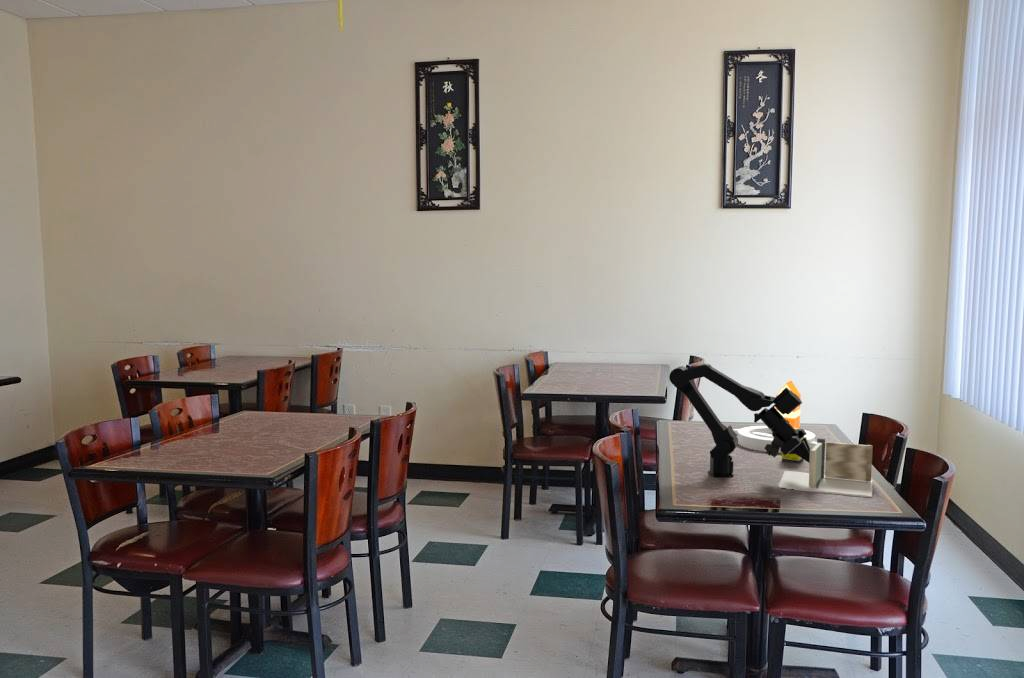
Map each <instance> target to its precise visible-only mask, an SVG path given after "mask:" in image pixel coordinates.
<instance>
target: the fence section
mask: <svg viewBox="0 0 1024 678" xmlns="http://www.w3.org/2000/svg"><path fill="white" fill-rule="evenodd" d="M816 442H817V443H818V442H819V443H822V464H821V479H822V478H824V475H825V477H828V478H838V479H849V480H859V481H867V482H871V479H872V470H873V469H872V466H873V465H872V464H873V447H874V445H872V444H857V443H845V442H835V441H834V442H833V441H832V442H831V441H826V439H825V438H823V437H822V438H821V437H817V438H816Z"/></svg>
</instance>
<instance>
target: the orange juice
mask: <svg viewBox="0 0 1024 678" xmlns="http://www.w3.org/2000/svg"><path fill="white" fill-rule="evenodd" d="M786 387H787V388H788V389H789V390H791V391H792V392H793V393H794V394H796V395H797V396H798V397H799V398H800V400H801V392H800V391H799V390H798V388H797V387H796V385H795V384H794V382H793V380H790V381H787V382H786V383H785V384H784V385H783V386H782V387H781V389H780V390H779V391H778V393H777V394H776V395H775V397H776V396H778V395H779V394H780V393H781V392H782V391H783V390H784V389H785V388H786ZM775 409H776V410H777V411H778V409H777V408H776V407H775ZM778 412H779V411H778ZM779 413H780V412H779ZM780 414H781V415H782V416H783V417H784V418H785V419H786V420H788V421H789V424H790V425H791V426H792V427H793V428H797V429H801V428H800V427H801V425H800V422H801V421H800V420H801V404H800V405H799V406H798V407H797V408H796V409H795V410H793V411H792V412H791V413H790V414H789V415H788V414H786V413H785V414H782V413H780Z"/></svg>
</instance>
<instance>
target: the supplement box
mask: <svg viewBox="0 0 1024 678" xmlns="http://www.w3.org/2000/svg"><path fill="white" fill-rule="evenodd" d="M794 429H795V428H794ZM802 429H803V428H802ZM795 430H797V429H795ZM803 430H805V429H803ZM801 439H804V436H803V437H802V438H801ZM803 461H804V459H802V458H801V457H799V456H798V455H796V454H788V453H787V454H786V455H784V454H783V453H781V462H790V463H801V462H803Z"/></svg>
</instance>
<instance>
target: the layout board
mask: <svg viewBox="0 0 1024 678" xmlns="http://www.w3.org/2000/svg"><path fill="white" fill-rule="evenodd" d="M873 481H874V480H873V479H872V478H871V482H867V481H859V480H849V479H838V478H828V477H825V474H824V478H822V479H821V478H820V480H819V481H818V482H817V483H816V485H815V487H809V472H802V471H801V472H800V471H790V470H784V472H783V475H782V477H781V479H780V481H779V484H778V485H777V488H778V487H779V488H778V489H781V488H786V489H785V490H791V489H794V491H802V492H811V493H822V494H831V495H841V496H849V497H850V496H851V497H862V498H871V499H872V498H873Z"/></svg>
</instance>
